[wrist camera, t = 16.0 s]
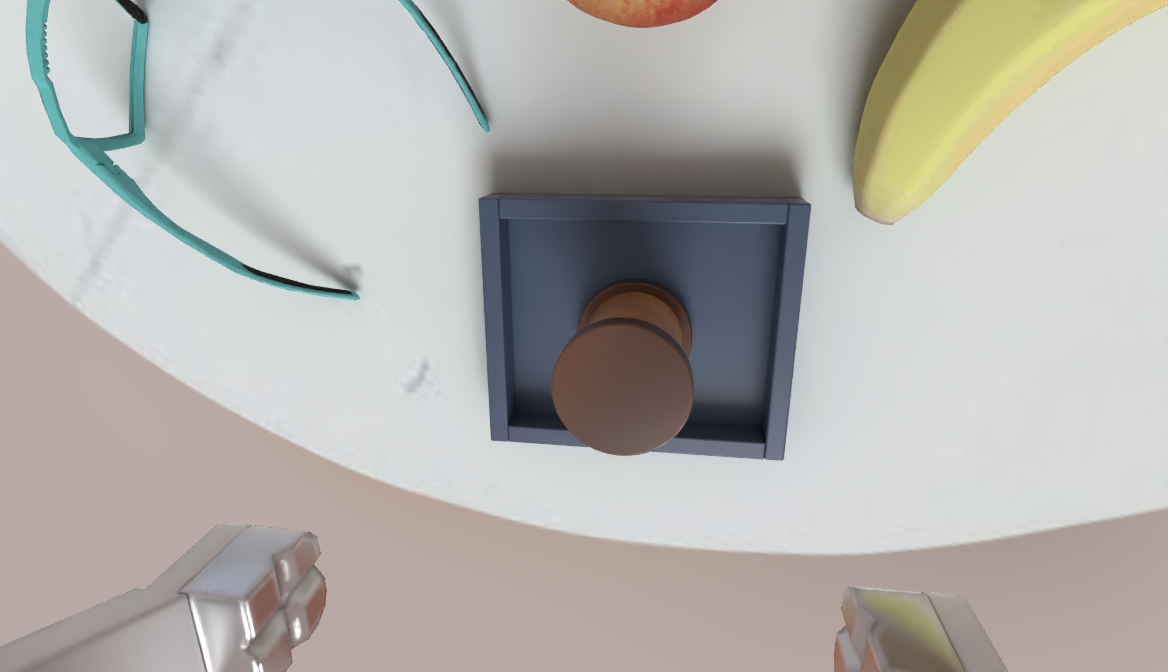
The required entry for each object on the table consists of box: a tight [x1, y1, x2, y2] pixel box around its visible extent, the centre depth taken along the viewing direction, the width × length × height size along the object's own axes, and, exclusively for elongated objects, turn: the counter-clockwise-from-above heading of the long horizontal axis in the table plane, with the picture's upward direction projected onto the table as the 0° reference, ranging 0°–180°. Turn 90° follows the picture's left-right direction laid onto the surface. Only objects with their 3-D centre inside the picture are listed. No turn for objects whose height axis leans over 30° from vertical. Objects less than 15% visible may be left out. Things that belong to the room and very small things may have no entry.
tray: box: [479, 193, 811, 460], centre depth 27 cm, size 13×11×2 cm
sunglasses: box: [26, 0, 490, 300], centre depth 26 cm, size 14×15×5 cm
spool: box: [551, 278, 694, 456], centre depth 25 cm, size 5×5×6 cm
